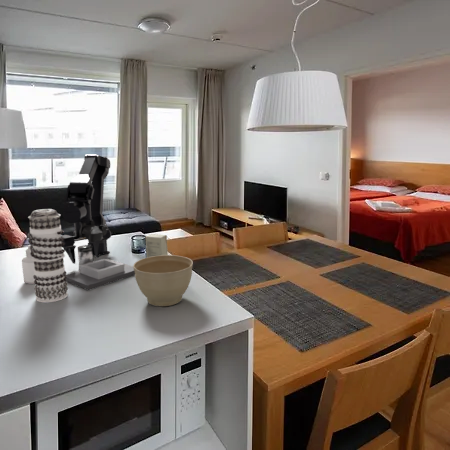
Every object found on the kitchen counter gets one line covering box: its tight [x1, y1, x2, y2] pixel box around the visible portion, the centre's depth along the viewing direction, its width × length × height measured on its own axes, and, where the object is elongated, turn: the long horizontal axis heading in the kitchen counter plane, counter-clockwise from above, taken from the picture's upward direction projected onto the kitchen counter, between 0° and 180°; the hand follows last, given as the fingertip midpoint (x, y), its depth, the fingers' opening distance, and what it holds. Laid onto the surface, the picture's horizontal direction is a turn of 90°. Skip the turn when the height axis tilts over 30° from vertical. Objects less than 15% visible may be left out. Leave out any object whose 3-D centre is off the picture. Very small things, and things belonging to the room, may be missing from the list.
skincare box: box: [145, 233, 169, 258], centre depth 130 cm, size 6×4×12 cm
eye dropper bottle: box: [21, 244, 35, 285], centre depth 117 cm, size 4×6×12 cm
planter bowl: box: [132, 254, 194, 307], centre depth 105 cm, size 16×16×11 cm
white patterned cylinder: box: [27, 208, 69, 304], centre depth 105 cm, size 9×9×25 cm
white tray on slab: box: [65, 258, 135, 291], centre depth 124 cm, size 20×14×4 cm
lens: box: [77, 244, 94, 268], centre depth 134 cm, size 5×5×7 cm
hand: (85, 260), depth 134 cm, fingers open, 9 cm apart
